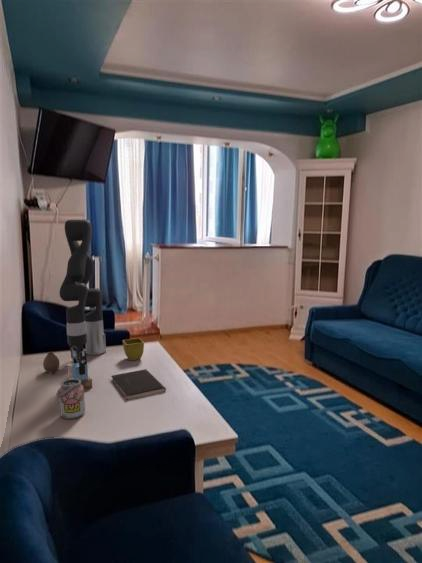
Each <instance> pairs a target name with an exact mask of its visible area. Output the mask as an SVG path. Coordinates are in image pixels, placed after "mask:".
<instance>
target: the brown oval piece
mask: <svg viewBox="0 0 422 563" xmlns="http://www.w3.org/2000/svg"><path fill="white" fill-rule="evenodd" d="M42 364H43V365H42V366H43V369H44V371H45V373H49V374H51V373H57V371H58V370H59V368H60V364H61V363H60V359H59V358H58V356H57V355H56V354H55V353H54V352H53V351H50V352H47V354H46V356H45V358H43V362H42Z"/></svg>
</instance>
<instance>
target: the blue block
mask: <svg viewBox="0 0 422 563" xmlns="http://www.w3.org/2000/svg"><path fill="white" fill-rule="evenodd" d="M73 363H74V362H73ZM82 363H83V361H82ZM88 368H89V367H88V364H87V365H85V374H84V375H80V374H79V365H78V363H74V364H72V378H74V379H79V380H80V381H82V380H86V379H88V377H89V373H88V371H89V370H88Z"/></svg>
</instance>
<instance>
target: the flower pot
mask: <svg viewBox="0 0 422 563" xmlns="http://www.w3.org/2000/svg"><path fill="white" fill-rule="evenodd" d="M122 347H123V351H124V354H125V355H126V357H127V358H128V360H129V361H137V360H141V358H143V354H144V348H145V342H144V341H143V340H142V339H141V338H140V337H135V338H129V339H123V340H122Z"/></svg>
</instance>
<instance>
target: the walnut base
mask: <svg viewBox="0 0 422 563" xmlns="http://www.w3.org/2000/svg"><path fill="white" fill-rule="evenodd" d="M69 379H71V378H69V377H68V379H67V380H69ZM81 385H82V386H83V388H84V391H87V390H88V389H93V378H91V377H89V376H88V379H86V380H82V381H81Z"/></svg>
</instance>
